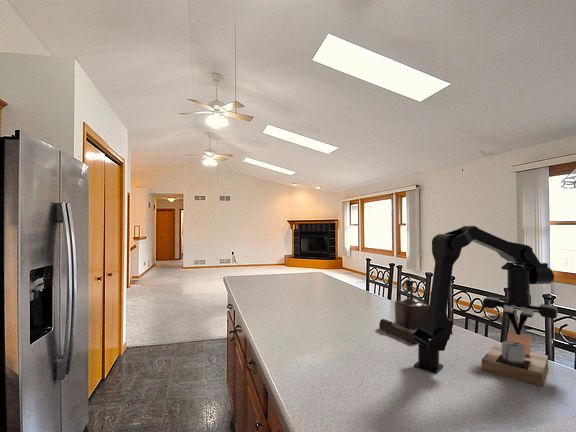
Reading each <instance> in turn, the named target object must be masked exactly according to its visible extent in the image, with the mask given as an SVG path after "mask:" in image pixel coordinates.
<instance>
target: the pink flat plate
mask: <svg viewBox="0 0 576 432" xmlns="http://www.w3.org/2000/svg"><path fill="white" fill-rule="evenodd" d="M506 341H512V342H517V343H520V344H523V345H524V346H525V356H528V357H529V356H530V352H531V346H532V335H529V334H526V333H521V334H520V335H517V334H516V331H515V332H514V331H509V330H508V331H507V336H506Z"/></svg>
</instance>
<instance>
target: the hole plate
mask: <svg viewBox="0 0 576 432" xmlns="http://www.w3.org/2000/svg"><path fill="white" fill-rule="evenodd" d="M548 367H549V355H546V354H541V353H537V352H532V351H530V356H529V357H528V356H525V369H523V368H519V367H515V366H511V365H507V364H503V363H502V344H501V345H499V344H496V343H494V344H493V345H492V346H491V348H489V350H488V351H487V353H486V354H485V355H484V356H483V358H482V359H481V371H484V372H487V373H492V374H494V375H499V376H502V377H505V378H509V379H513V380H516V381H520V382H524V383H528V384H532V385H533V386H534V385H535V386H539V387H543V385H544V382H545V379H546V375H547V370H548Z"/></svg>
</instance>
